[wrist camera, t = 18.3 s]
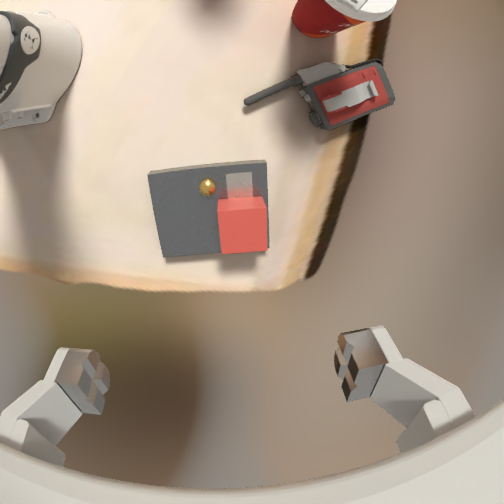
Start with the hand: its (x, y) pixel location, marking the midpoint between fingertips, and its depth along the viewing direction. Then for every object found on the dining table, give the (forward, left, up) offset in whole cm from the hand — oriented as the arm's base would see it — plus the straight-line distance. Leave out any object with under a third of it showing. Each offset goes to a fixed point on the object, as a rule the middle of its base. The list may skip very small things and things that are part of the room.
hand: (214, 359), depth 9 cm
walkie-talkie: (+14, +9, -32) cm, 36 cm away
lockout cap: (+2, -7, -29) cm, 30 cm away
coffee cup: (+13, +20, -31) cm, 39 cm away
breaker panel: (-2, -6, -31) cm, 32 cm away
